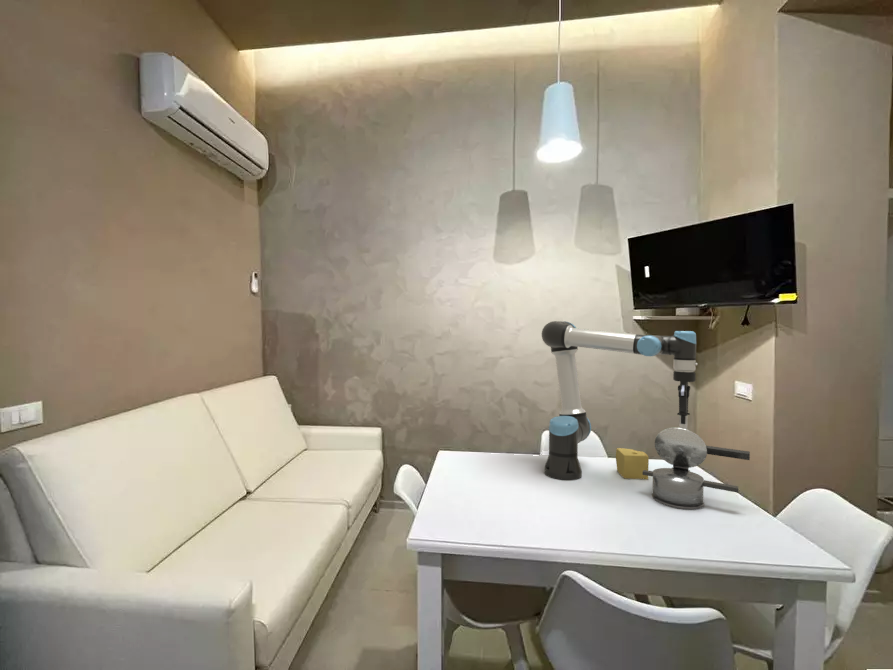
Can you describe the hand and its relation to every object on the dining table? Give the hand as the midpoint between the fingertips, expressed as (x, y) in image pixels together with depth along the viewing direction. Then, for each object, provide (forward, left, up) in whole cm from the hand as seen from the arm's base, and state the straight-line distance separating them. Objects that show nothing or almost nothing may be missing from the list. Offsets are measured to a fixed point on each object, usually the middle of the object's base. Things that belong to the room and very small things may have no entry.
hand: (683, 431), depth 168 cm
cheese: (-19, +3, -22) cm, 29 cm away
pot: (+3, -15, -22) cm, 27 cm away
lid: (+6, -10, -5) cm, 13 cm away
